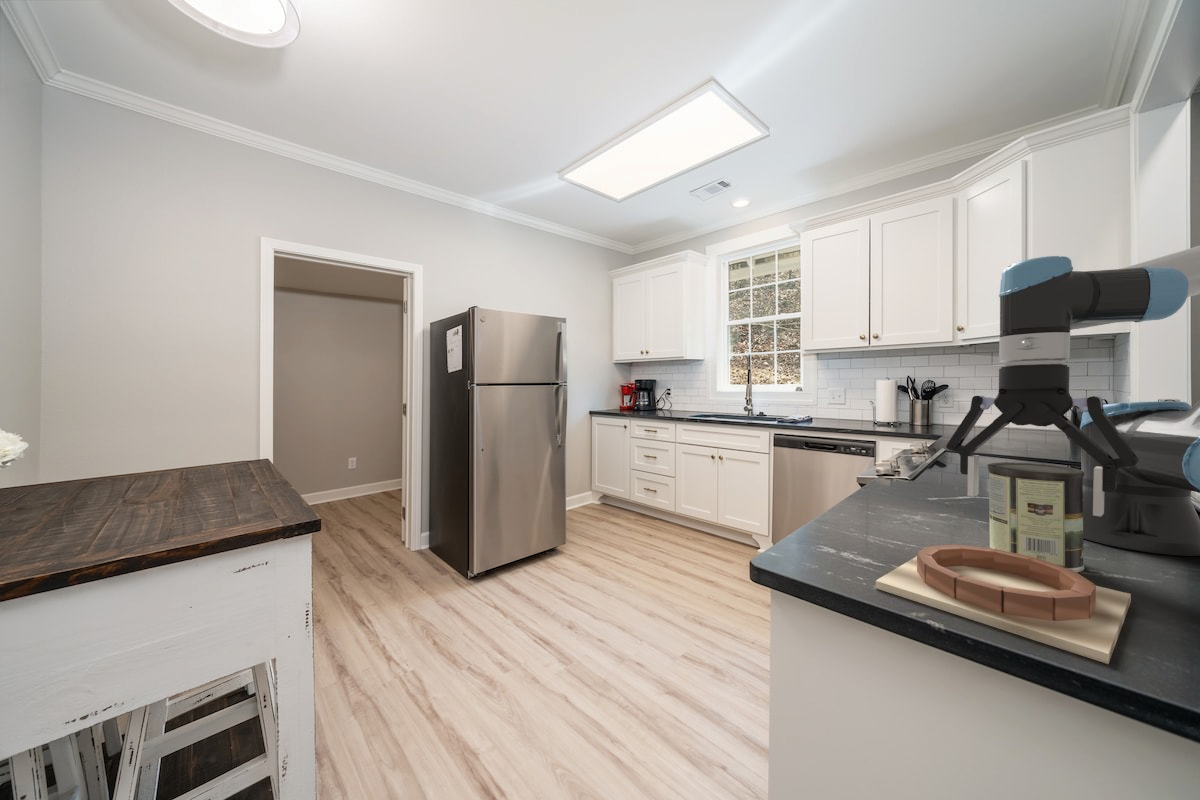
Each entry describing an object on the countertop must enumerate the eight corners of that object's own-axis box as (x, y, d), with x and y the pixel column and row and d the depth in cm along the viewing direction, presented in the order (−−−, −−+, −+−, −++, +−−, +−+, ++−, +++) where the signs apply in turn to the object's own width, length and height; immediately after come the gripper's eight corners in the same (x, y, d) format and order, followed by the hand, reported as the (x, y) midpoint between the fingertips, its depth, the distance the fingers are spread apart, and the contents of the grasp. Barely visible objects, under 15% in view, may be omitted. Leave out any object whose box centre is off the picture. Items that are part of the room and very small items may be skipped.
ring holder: (931, 553, 69) (931, 531, 69) (1130, 602, 52) (1130, 573, 52) (875, 588, 57) (875, 561, 57) (1108, 664, 41) (1108, 627, 41)
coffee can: (1046, 549, 70) (1045, 462, 69) (1106, 576, 60) (1106, 474, 59) (972, 545, 72) (972, 461, 71) (1019, 571, 62) (1018, 472, 61)
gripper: (924, 367, 73) (923, 491, 74) (1167, 357, 53) (1163, 530, 53) (940, 368, 77) (939, 486, 78) (1171, 360, 57) (1167, 519, 58)
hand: (1030, 504), depth 66 cm, fingers open, 13 cm apart
